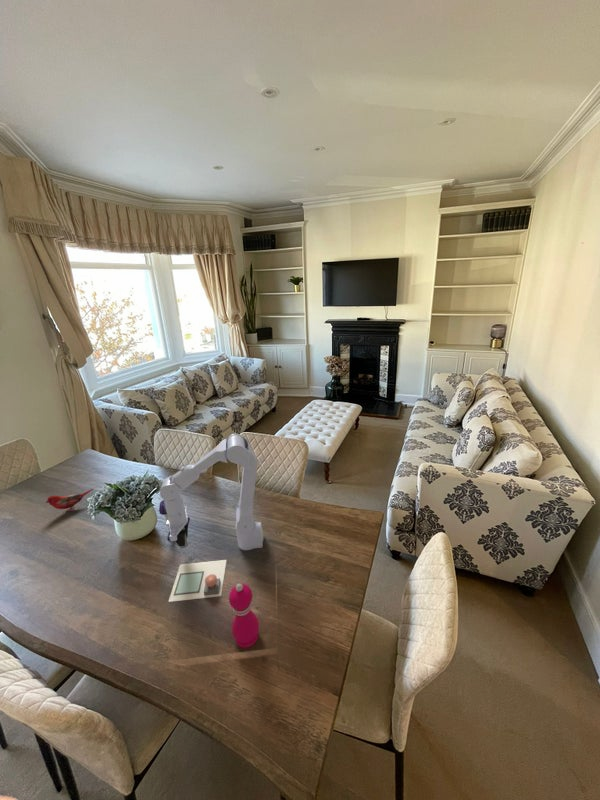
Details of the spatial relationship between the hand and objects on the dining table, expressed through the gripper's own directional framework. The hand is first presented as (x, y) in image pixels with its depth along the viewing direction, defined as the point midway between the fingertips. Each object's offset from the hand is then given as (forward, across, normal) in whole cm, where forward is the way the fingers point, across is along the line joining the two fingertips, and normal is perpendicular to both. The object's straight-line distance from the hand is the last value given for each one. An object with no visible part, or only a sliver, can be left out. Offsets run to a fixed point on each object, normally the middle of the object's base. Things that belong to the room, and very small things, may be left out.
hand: (183, 541), depth 115 cm
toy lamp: (+7, -11, -8) cm, 16 cm away
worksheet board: (+7, +11, +7) cm, 15 cm away
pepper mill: (+8, +31, +24) cm, 40 cm away
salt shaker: (+2, 0, 0) cm, 2 cm away
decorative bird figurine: (+7, -35, -58) cm, 68 cm away
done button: (+5, +15, +12) cm, 20 cm away
